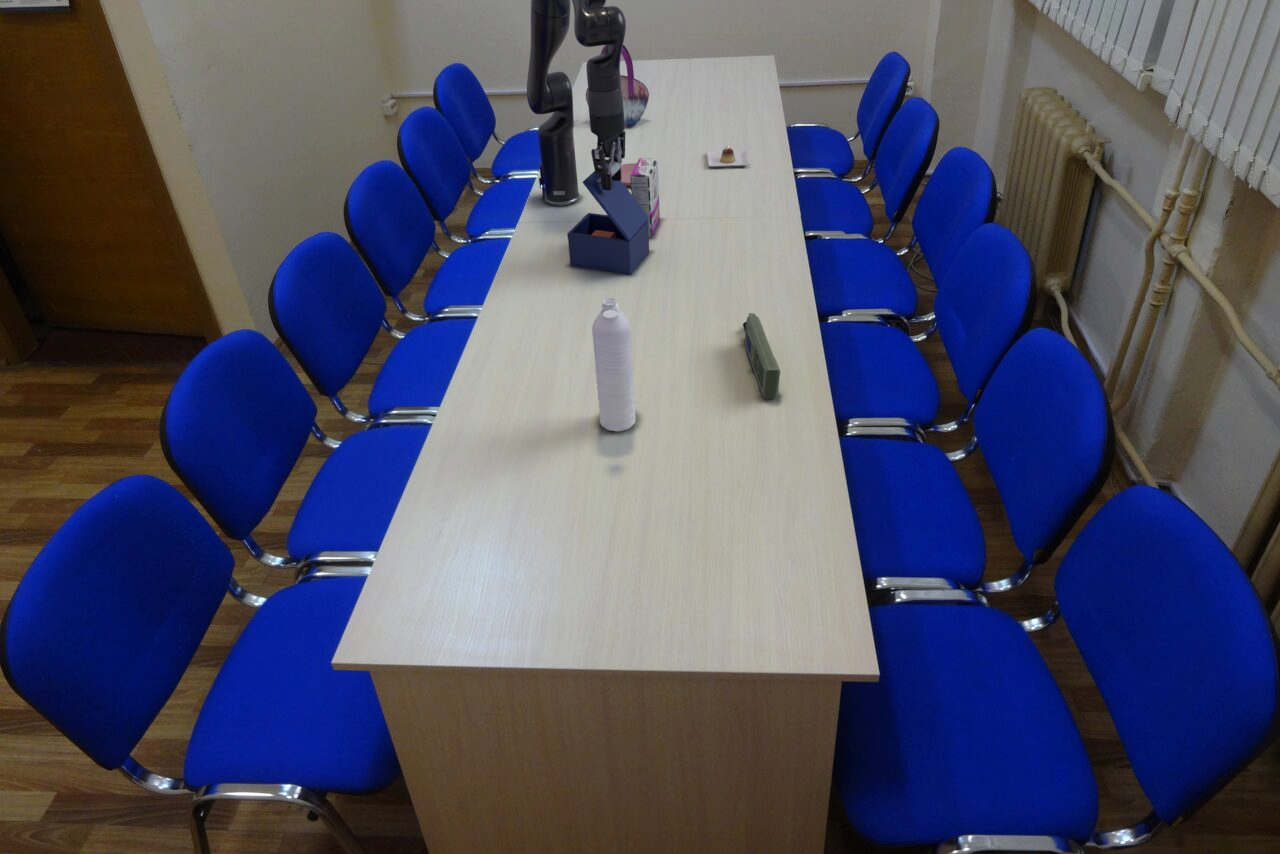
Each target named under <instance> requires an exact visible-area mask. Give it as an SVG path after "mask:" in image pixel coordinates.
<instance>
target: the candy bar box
mask: <svg viewBox="0 0 1280 854" xmlns="http://www.w3.org/2000/svg"><path fill="white" fill-rule="evenodd" d="M636 163H637V164H636V166H635V168H634V170H633V172H632V173H631V175H630V178H631V186H630V193H631V195H632V196H633V197H634V199H635V200H636V201H637V203H638V204H639V205H640V206H641V208H642V209H643V210H644V212H645V213H646V214H647V216H648V217H649V218H648V234H649V239H651V238H653V237H654V234H655V232H656V229H657V227H658V225H659V222H660V220H661V216H660V215H661V214H660V191H659V190H660V189H659V168H658V167H659V166H658V158H650V157H649V158H647V157H646V158H645V157H640V158H638V160H637V162H636Z"/></svg>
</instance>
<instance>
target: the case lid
mask: <svg viewBox="0 0 1280 854" xmlns="http://www.w3.org/2000/svg"><path fill="white" fill-rule="evenodd" d="M606 166H607V163H606ZM619 169H620V164H619V163H618V162H614V163H612V164H611V173H610V174H611V181H612V189H611V190H603V189H602V183H601V174H596V173H595V170H594V171H593V172H592V173H590V174H589V175H588V176H587V177H586V178H585V179H584V180H583V181H582V184H583V186H584V187H585V188H586V189H587V190H588V192H589V193H590V194H591V195H592V197H593V198H594V199H595V201H596V202H597V204H598V205H599V206H600V207H601V209H602V210H603V211H604V212H605V214H606V215H608V216H609V217H610V219H611V220H612V221H613V223H614V224H615V225H616V226H617V228H618V229H619V230H620V232H621V233H622V234H623V235H624V237H625V238H626V239H627V241H628V240H630V239H631V238H632V237H633V235H634V234H635V233H636V232H637V231H638V230H639V229H640V228H641V226H642V225H643V224H644V223H645V222H646V221H647V220H648V218H649V217H648V216H647V214H646V213H645V212H644V210H643V209H642V208H641V206H640V205H639V204H638V203H637V201H636V200H635V199H634V197H633V196H632V193H631V191H629V189H628V188H627V186H625V185H624V184H623V183H622V181H621V180H620V181H613V180H612V176H613V175H614V174H615V173H616V172H617V171H618V170H619Z"/></svg>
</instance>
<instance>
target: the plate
mask: <svg viewBox="0 0 1280 854" xmlns="http://www.w3.org/2000/svg"><path fill="white" fill-rule="evenodd" d="M636 164H637V162H635V163H634V162H633V163H631V162H629V163H622V164H621V175H622V179H621V181H622V183H623V184H624V185H625V187H631V178H630V175H631V173H632V172H633V170H634V168H635V166H636Z"/></svg>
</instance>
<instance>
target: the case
mask: <svg viewBox="0 0 1280 854" xmlns="http://www.w3.org/2000/svg"><path fill="white" fill-rule="evenodd" d="M595 230H599V231H607V232H614V233H615V239H614V238H607V237H600V236H593V235H591V234H592V233H593V232H594V231H595ZM566 234H567V243H568V254H569V263H570V267H578V268H584V269H585V268H586V269H591V270H597V271H604V272H612V273H618V274H625V275H632V273H634V271H635V270H636V269H637V268H638V266H639V265H640V264H641V263H642V262H643V261H644V259H645V258H646V256H648V254H649V253H650V238H649V234H648V220H647V221H646V222H645V223H644V224H643V225H642V226H641V228H640V229H639V230H638V231H637V232H636V233H635V234H634V235H633V237H632V238H631V239H630V240H628V241H627V239H626V238H625V237H624V235H623V234H622V233H621V232H620V230H619V229H618V228H617V226H616V225H615V224H614V223H613V221H612V220H611V219H610V217H609V216H608V215H607V214H602V213H593V212H588V213H587V214H585V215H584V216H583V218H581V220H579V222H577V223H576V224H575V225H574V226H573V227H572V228H571V229H570V230H569V231H568V232H567V233H566Z"/></svg>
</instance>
